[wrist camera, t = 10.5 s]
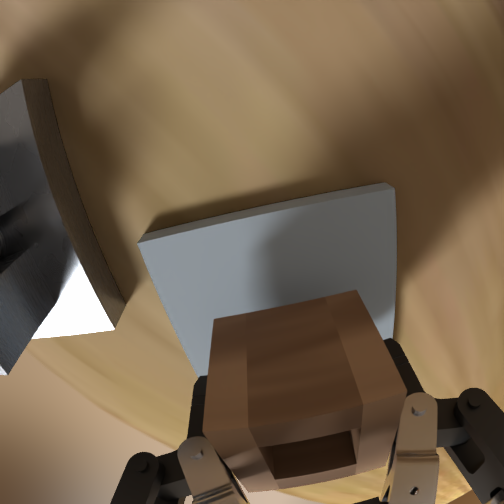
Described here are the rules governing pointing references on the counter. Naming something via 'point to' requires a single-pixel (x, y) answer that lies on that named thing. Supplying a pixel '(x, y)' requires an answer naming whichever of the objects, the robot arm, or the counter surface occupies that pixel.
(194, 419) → the robot arm
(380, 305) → the mat
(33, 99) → the grey block-shaped fixture
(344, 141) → the counter surface
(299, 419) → the collar
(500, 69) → the counter surface
